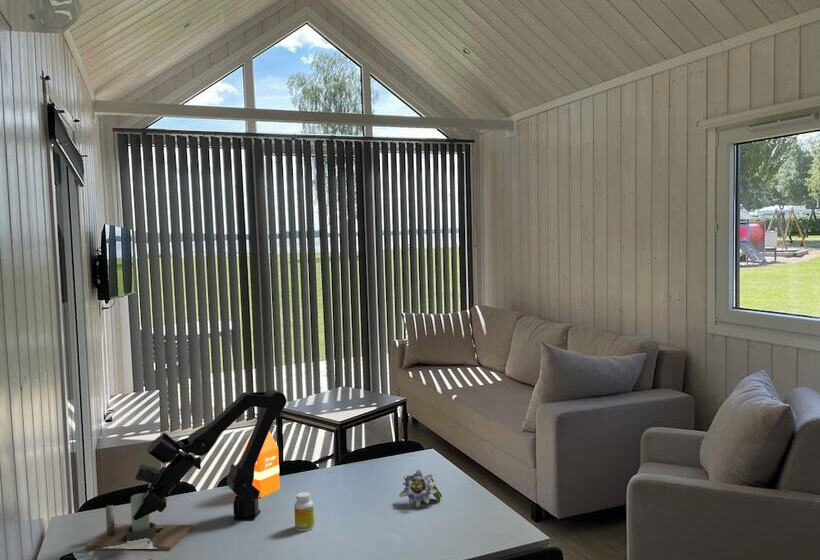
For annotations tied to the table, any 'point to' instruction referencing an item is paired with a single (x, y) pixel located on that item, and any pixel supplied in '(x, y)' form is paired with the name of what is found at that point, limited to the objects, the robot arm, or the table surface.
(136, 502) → the pale green cylinder
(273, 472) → the orange juice
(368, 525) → the table surface
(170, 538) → the ring holder
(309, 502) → the supplement bottle
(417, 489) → the passion flower
